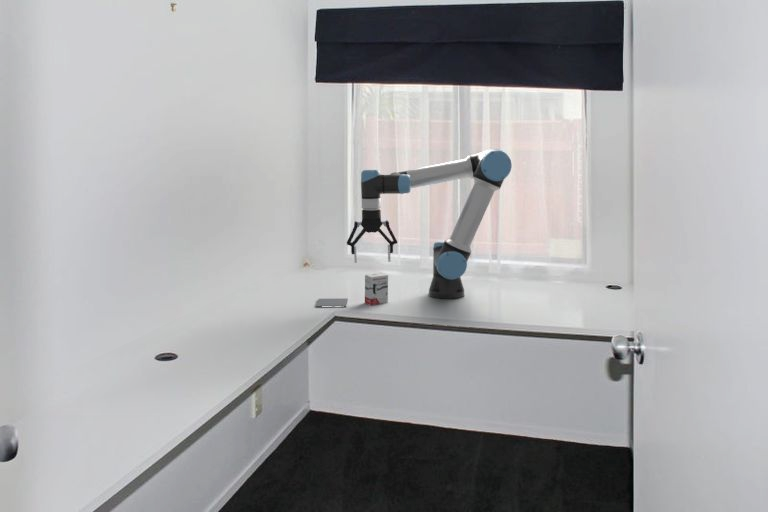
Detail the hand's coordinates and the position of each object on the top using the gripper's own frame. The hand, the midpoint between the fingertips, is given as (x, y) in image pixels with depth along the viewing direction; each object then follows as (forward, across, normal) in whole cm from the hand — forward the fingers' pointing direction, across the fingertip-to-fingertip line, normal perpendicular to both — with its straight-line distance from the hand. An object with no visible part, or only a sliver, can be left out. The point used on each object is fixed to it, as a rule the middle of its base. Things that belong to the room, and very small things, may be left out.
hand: (372, 261), depth 247 cm
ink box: (+17, -1, 0) cm, 17 cm away
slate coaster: (+17, +17, 0) cm, 24 cm away
